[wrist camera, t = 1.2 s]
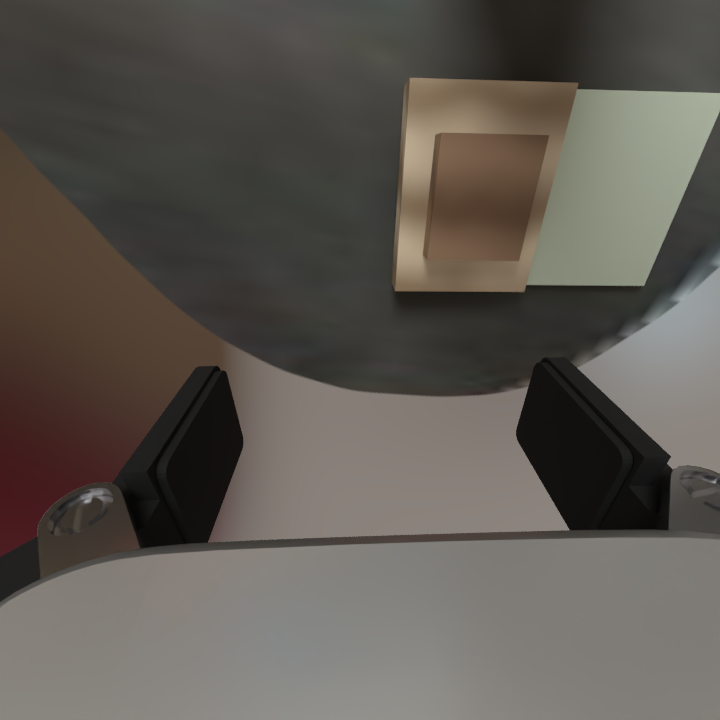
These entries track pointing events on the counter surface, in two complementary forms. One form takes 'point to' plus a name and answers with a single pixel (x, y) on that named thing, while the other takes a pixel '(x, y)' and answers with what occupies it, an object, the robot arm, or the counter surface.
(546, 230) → the sage mat
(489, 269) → the birch board
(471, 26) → the counter surface
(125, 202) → the counter surface
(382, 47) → the counter surface
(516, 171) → the walnut block
